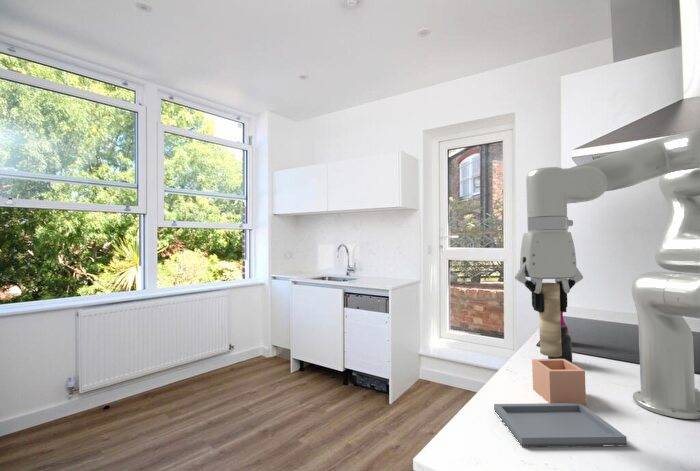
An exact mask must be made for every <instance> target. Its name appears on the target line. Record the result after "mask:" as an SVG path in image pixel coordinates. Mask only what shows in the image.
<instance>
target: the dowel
mask: <svg viewBox="0 0 700 471" xmlns="http://www.w3.org/2000/svg"><path fill="white" fill-rule="evenodd" d="M541 293H542V294H543V295H544V312H543V313H540V312H538V321H539V322H538V324H539V352H540V354H541V355H543V356H545V357H548V356H551V357H559V356H562V348H561V315H560V284H558V283H556V282H542V287H541Z"/></svg>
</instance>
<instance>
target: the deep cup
mask: <svg viewBox="0 0 700 471" xmlns="http://www.w3.org/2000/svg"><path fill="white" fill-rule="evenodd" d="M531 365H532V366H531V368H532V370H531V371H532V390H533V391H534V390H535V391H536V392H535V391H534V392H535V393H537V394H538V395H539V396H540V397H541V396H542V397H543V398H542V397H541V398H542V399H544V400H545V401H546V402H547V401H548V402H549V403H581V404H583V405H586V404H587V395H586V392H587V391H586V388H587V387H586V371H585V370H584V369H583V368H580V367H579V366H577V365H576V364H574V363H573V362H572V363H571V362H569V361H567V360H565V359H548V358H544V359H543V358H539V359H537V358H535V359H531ZM548 402H547V403H548Z"/></svg>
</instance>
